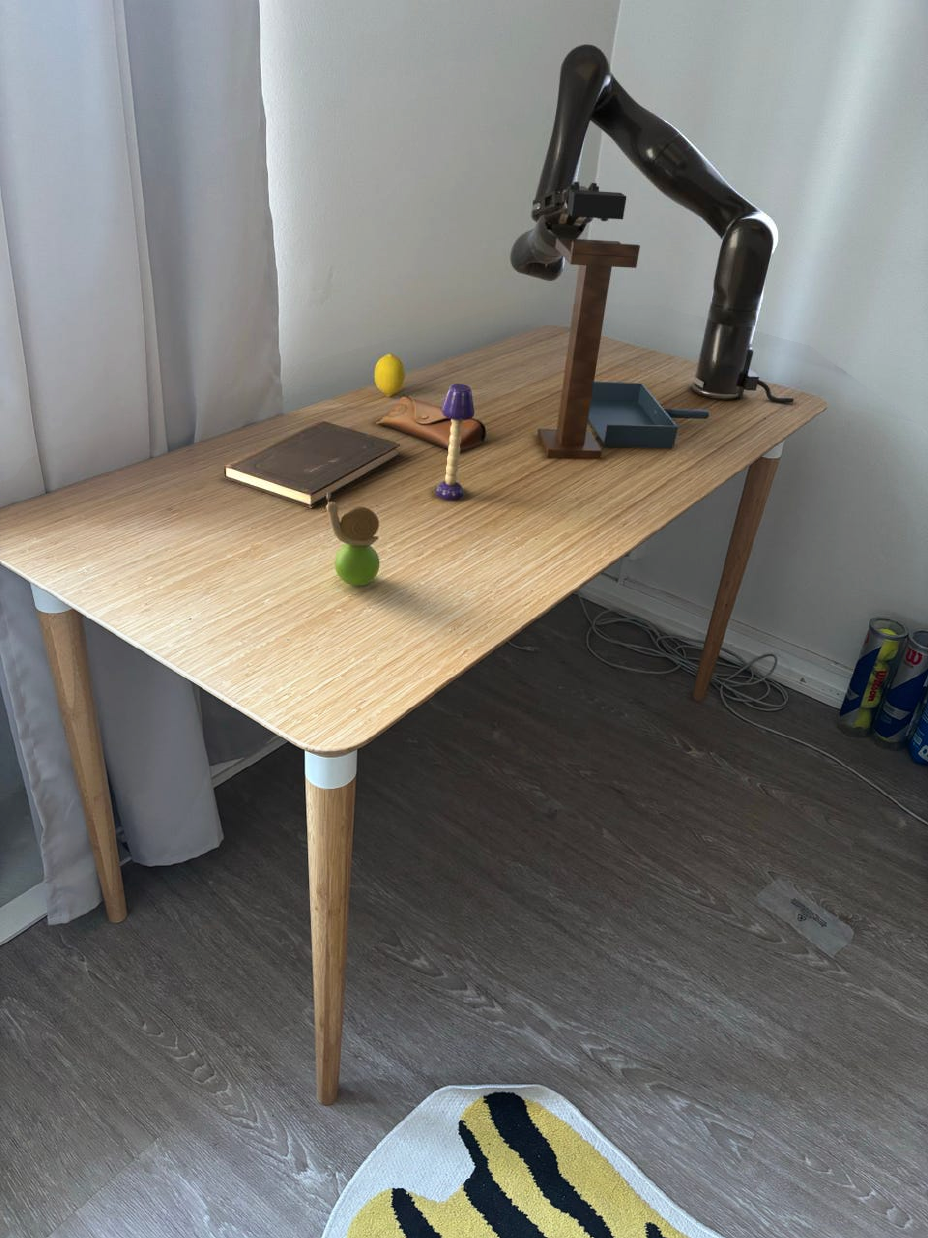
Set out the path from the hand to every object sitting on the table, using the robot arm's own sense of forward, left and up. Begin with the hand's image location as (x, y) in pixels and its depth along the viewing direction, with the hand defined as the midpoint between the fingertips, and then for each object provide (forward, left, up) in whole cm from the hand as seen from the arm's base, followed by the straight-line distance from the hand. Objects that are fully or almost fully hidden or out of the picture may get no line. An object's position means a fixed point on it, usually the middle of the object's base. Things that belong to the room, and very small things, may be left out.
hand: (585, 188), depth 145 cm
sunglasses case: (+23, +7, -39) cm, 45 cm away
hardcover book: (+42, +22, -39) cm, 61 cm away
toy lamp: (+22, +31, -39) cm, 54 cm away
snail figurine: (+37, +56, -39) cm, 77 cm away
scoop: (-18, 0, -38) cm, 42 cm away
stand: (0, +11, -38) cm, 40 cm away
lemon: (+29, -10, -39) cm, 49 cm away
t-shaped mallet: (0, +2, -3) cm, 3 cm away
